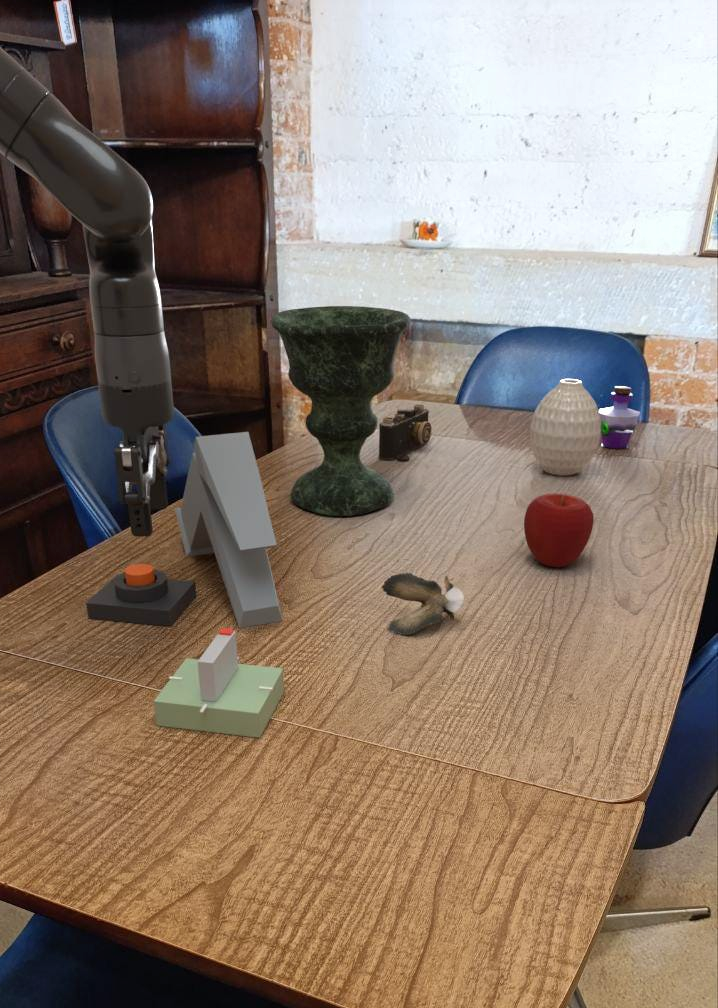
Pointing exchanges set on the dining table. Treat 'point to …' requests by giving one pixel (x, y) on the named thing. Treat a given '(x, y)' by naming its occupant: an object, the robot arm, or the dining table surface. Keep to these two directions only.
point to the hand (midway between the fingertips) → (150, 521)
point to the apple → (557, 528)
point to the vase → (565, 429)
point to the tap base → (221, 701)
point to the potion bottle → (618, 420)
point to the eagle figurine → (422, 601)
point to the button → (139, 575)
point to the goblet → (341, 398)
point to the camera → (404, 433)
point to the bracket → (231, 523)
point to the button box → (142, 601)
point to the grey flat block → (218, 665)
